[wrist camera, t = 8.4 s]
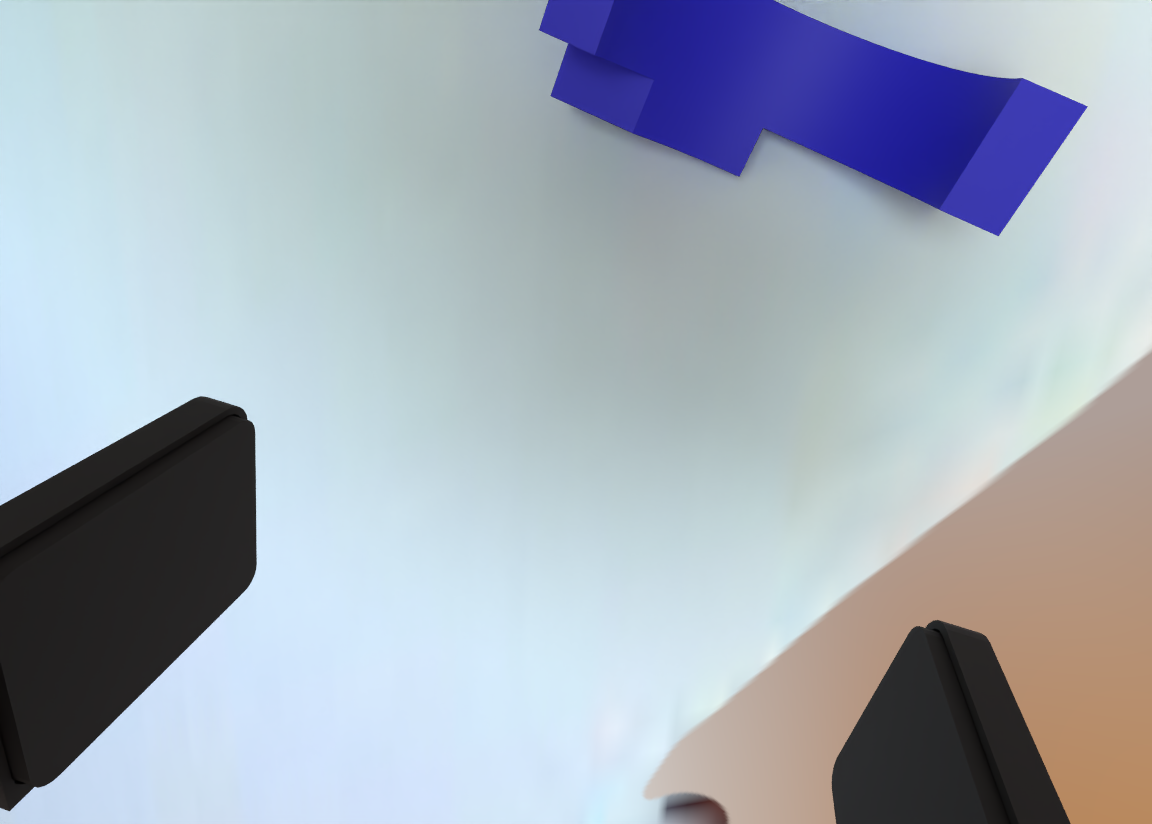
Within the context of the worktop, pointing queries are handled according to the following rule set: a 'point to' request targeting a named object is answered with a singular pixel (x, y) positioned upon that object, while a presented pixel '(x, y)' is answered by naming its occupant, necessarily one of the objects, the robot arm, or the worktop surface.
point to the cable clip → (808, 98)
